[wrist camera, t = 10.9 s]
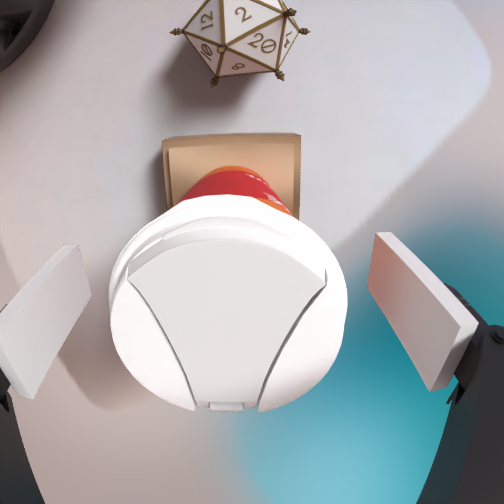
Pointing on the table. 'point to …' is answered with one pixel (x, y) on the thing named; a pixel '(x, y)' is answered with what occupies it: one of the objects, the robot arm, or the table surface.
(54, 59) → the table surface
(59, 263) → the robot arm
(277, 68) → the game die
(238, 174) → the coffee cup
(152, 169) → the table surface
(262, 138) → the plinth
